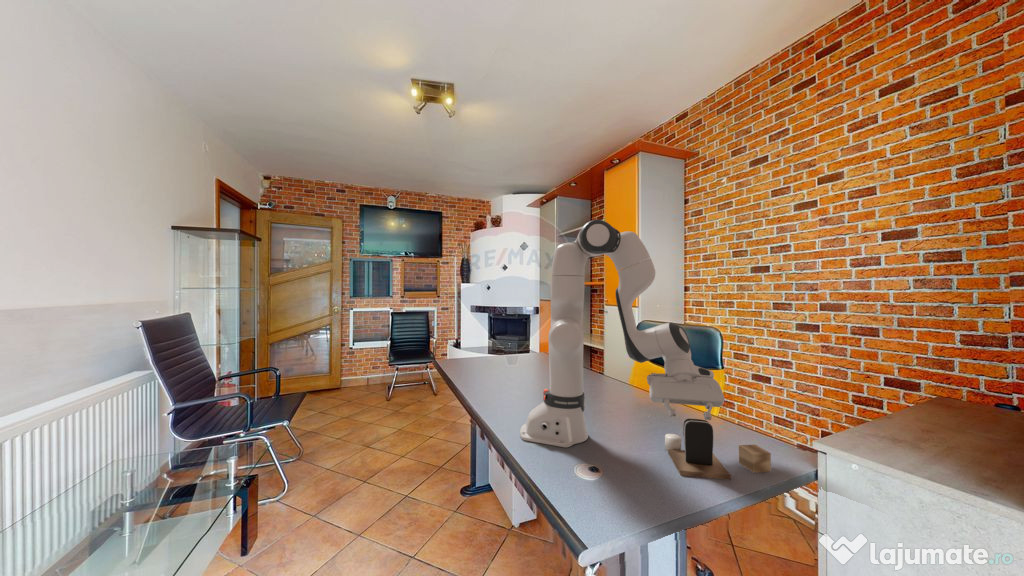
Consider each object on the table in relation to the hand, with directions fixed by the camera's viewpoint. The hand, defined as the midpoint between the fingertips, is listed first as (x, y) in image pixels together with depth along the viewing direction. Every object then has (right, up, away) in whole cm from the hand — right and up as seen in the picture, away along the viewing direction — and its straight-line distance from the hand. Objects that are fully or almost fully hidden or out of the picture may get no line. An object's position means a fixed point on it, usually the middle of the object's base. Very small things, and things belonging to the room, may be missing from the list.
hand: (690, 417), depth 97 cm
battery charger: (0, -10, -5) cm, 12 cm away
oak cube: (+15, -12, -5) cm, 19 cm away
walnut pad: (0, -11, -4) cm, 12 cm away
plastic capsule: (-3, -12, +5) cm, 13 cm away
